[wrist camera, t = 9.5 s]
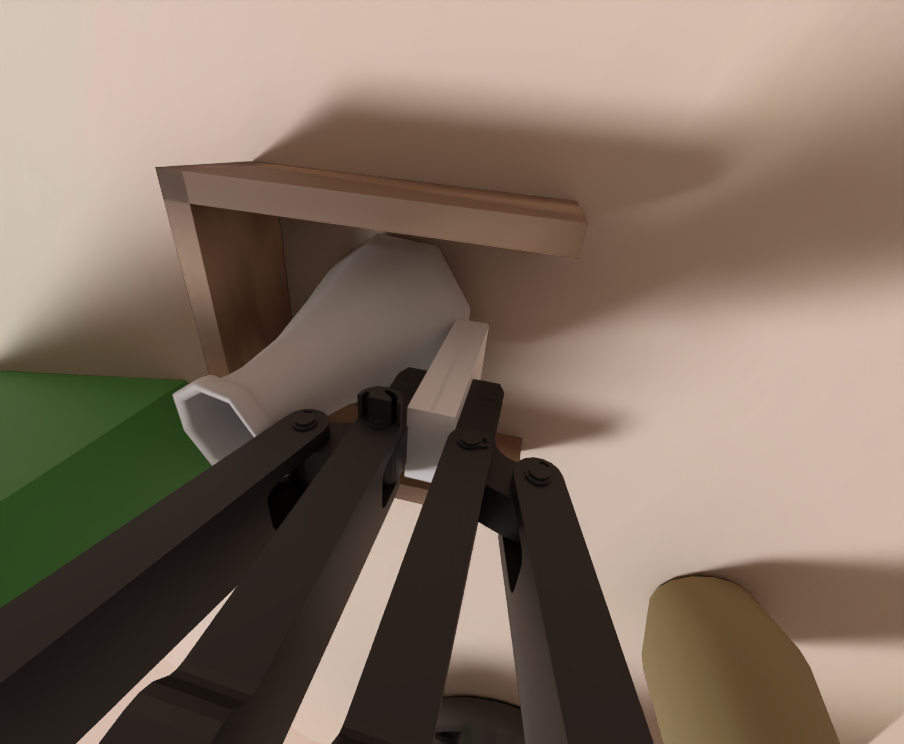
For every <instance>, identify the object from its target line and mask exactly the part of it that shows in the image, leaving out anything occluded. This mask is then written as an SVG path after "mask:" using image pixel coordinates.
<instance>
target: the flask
mask: <svg viewBox="0 0 904 744" xmlns="http://www.w3.org/2000/svg"><path fill="white" fill-rule="evenodd" d="M470 309H471V308H470V306H469V304H468V302H467V300H466V298H465V297H464V295H463V293H462V291H461V289H460V287H459V285H458V283H457V281H456V279H455V277H454V275H453V274H452V272H451V270H450V268H449V266H448V264H447V262H446V260H445V258H444V256H443V254H442V253H441V251H440V249H439V247H438V246H436V245H431V244H426V243H422V242H417V241H412V240H407V239H402V238H398V237H393V236H388V235H383V234H378V233H377V234H376V235H374V236H373V237H371V238H370V239H368V240H367V241H366V242H364V243H363V244H361V245H360V246H358V247H357V248H355V249H354V250H353V251H351V252H350V253H348V254H347V255H345V256H344V257H342V258H341V259H339V260H338V261H337V262H335V263H334V265H333V266H332V267H331V268H330V270H329V271H328V272H327V274H326V275H325V276H324V278H323V279H322V281H321V282H320V284H319V285H318V286H317V288H316V289H315V291H314V292H313V293H312V295H311V296H310V298H309V299H308V300H307V302H306V303H305V304H304V305H303V307H302V308H301V309H300V310H299V312H298V313H297V314H296V315H295V317H294V318H293V319H292V320H291V322H290V323H289V324H288V325H287V327H286V328H285V329H284V330H283V332H282V333H281V334H280V335H279V336H278V338H277V339H276V340H275V341H273V342H272V343H271V344H270V345H269V346H267V347H266V348H265V349H264V350H263V351H261V352H260V353H259V354H258V355H257V356H255V357H254V358H253V359H252V360H251V361H249V362H248V363H247V364H246V365H244V366H243V367H242V368H240V369H238V370H236V371H235V372H233V373H231V374H229V375H227V376H224V377H222V378H219V377H217V376H214V375H207V376H203V377H200V378H198V379H196V380H195V381H193V382H191V383H190V384H188V385H187V386H185V387H183V388H182V389H180V390H179V391H177V392H175V393H174V394H172V395H173V398H174V401H175V404H176V407H177V410H178V413H179V416H180V419H181V422H182V425H183V428H184V431H185V432H186V433H187V435H188V436H189V437H190V439H191V440H192V441H193V442H194V444H195V445H196V446H197V447H198V449H199V450H200V451H201V452H202V454H203V455H204V456H205V458H206V459H207V460H208V461H209V463H210V464H211V465H212V466H213V465H214V464H216V463H217V462H219V461H220V460H221V459H223V458H224V457H226V456H227V455H229V454H230V453H232V452H233V451H235V450H236V449H238V448H239V447H241V446H242V445H244V444H245V443H247V442H248V441H250V440H251V439H253V438H254V437H256V436H257V435H259V434H260V433H262V432H263V431H265V430H266V429H268V428H269V427H271V426H272V425H274V424H275V423H277V422H278V421H280V420H281V419H283V418H284V417H286V416H287V415H289V414H291V413H293V412H295V411H298V410H303V409H316V410H319V411H322V412H324V413H325V414H326V415H327V416H328V415H330V414H332V413H334V412H336V411H338V410H339V409H341V408H343V407H345V406H347V405H349V404H351V403H354V402H357V401H358V400H357V394H358V393H360V392H361V391H362V390H364V389H366V388H369V387H375V386H384V387H390V385H391V384H392V382H393V381H394V379H395V378H396V376H397V375H398V373H399V372H401V371H403V370H405V369H406V368H408V367H412V368H417V369H422V370H426V371H428V369H429V368H430V366H431V364H432V362H433V360H434V359H435V357H436V355H437V353H438V351H439V350H440V348H441V346H442V344H443V342H444V341H445V339H446V337H447V335H448V333H449V332H450V330H451V328H452V326H453V325H454V323H455V321H456V320H457V319H463V320H469V317H470Z"/></svg>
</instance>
